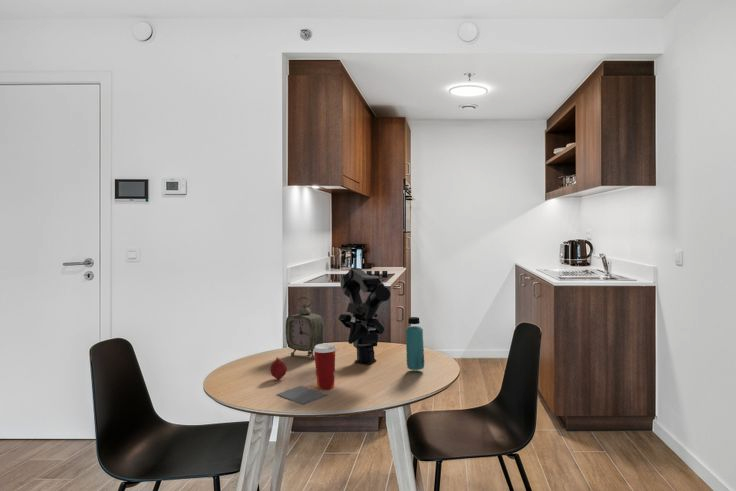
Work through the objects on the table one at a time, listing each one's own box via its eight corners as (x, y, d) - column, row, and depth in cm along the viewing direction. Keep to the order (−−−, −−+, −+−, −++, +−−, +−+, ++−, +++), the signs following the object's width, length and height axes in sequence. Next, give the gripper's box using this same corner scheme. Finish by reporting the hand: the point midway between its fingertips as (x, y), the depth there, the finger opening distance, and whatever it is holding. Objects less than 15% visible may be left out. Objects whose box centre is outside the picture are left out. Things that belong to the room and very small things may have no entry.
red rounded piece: (289, 377, 168) (289, 355, 167) (281, 382, 162) (281, 360, 162) (275, 376, 170) (275, 354, 169) (267, 381, 164) (266, 358, 164)
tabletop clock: (286, 356, 195) (284, 297, 194) (300, 351, 203) (298, 294, 202) (313, 361, 188) (311, 299, 187) (327, 355, 195) (325, 296, 194)
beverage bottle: (424, 374, 168) (422, 319, 167) (405, 373, 169) (404, 319, 168) (425, 368, 174) (423, 315, 173) (407, 368, 175) (406, 315, 175)
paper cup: (341, 386, 157) (340, 345, 157) (324, 392, 152) (323, 350, 151) (326, 381, 162) (325, 341, 162) (309, 387, 157) (308, 346, 156)
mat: (276, 394, 150) (276, 394, 150) (300, 386, 158) (300, 385, 158) (303, 404, 142) (303, 403, 142) (327, 395, 149) (327, 394, 149)
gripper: (341, 292, 175) (319, 326, 167) (378, 296, 162) (356, 333, 154) (356, 310, 181) (336, 343, 173) (393, 315, 168) (373, 352, 160)
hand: (349, 343), depth 165 cm, fingers closed
